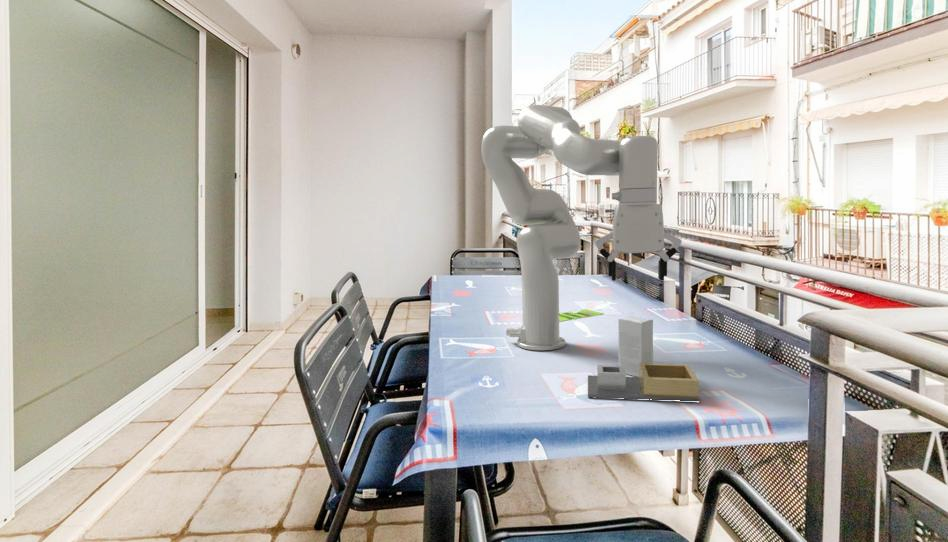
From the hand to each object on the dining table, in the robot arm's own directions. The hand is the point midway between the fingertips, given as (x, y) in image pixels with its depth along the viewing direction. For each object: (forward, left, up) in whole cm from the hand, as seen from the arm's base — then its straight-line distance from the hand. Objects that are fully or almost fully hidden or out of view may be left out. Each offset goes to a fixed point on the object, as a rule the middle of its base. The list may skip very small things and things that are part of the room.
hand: (637, 279), depth 111 cm
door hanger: (-17, +56, -21) cm, 62 cm away
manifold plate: (0, -11, -20) cm, 23 cm away
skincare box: (0, 0, -21) cm, 21 cm away
